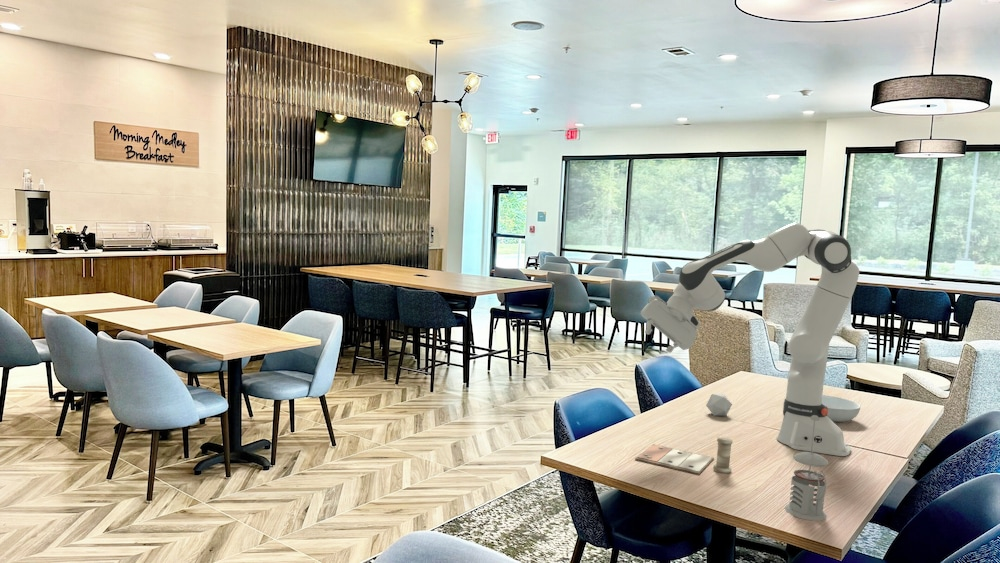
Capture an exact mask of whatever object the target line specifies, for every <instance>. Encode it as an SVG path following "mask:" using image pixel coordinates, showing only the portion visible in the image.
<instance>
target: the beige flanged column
mask: <svg viewBox="0 0 1000 563" xmlns="http://www.w3.org/2000/svg"><path fill="white" fill-rule="evenodd" d="M716 441H717V451H716V463H714V464H713V469H714V470H713V469H712V470H713V471H715V472H716V473H719V474H724V475H725V474H726V475H727V474H731V473H732V466H730V462H731V460H730V459H731V451H732V445H733V439H732V438H729V437H725V436H719V437H717V438H716Z"/></svg>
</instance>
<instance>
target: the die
mask: <svg viewBox="0 0 1000 563" xmlns="http://www.w3.org/2000/svg"><path fill="white" fill-rule="evenodd" d="M732 405H733V403H732V402H731V401H730V399H728V397H727V396H726V395H725V394H724V393H711V395H710V397H709V399H708V401H707V402H706V404H705V406H706V407H707V409H708V411H709V412H710V413H711V414H712V415H713V416H714V417H715V416H716V417H718V416H719V417H720V416H721V417H723V416H724V417H727V415H728V413H729V411H730V409H731V407H732Z"/></svg>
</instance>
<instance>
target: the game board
mask: <svg viewBox="0 0 1000 563" xmlns="http://www.w3.org/2000/svg"><path fill="white" fill-rule="evenodd" d="M634 459H635V461H638V460H639V462H642V461H643V462H642V463H646V462H647V463H646V464H651V465H655V466H659V467H663V466H664V468H667V467H668V469H673V470H675V471H676V470H677V471H680V472H681V471H682V472H684V471H685V473H688V474H694V475H697V476H700V475H701V473H702V472H704V470H706V468H707V467H708V466H709V465H710V464H711V463H712V462H713V461H714V459H715V457H713V456H710V455H709V456H708V455H704V454H700V453H695V452H690V451H686V450H683V449H682V450H681V449H677V448H673V447H667V446H665V445H664V446H663V445H659V444H652V445H650V446H649V447H648V448H646V449H645V450H644V451H643V452H642V453H639V455H638V456H637V457H635V458H634Z"/></svg>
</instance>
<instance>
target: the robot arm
mask: <svg viewBox="0 0 1000 563" xmlns="http://www.w3.org/2000/svg"><path fill="white" fill-rule="evenodd" d="M803 256H804V257H806V259H808V260H810V261H811V262H813V263H815V264H816V265H818V266H820V267H821V274H820V278H819V280H818V281H817V284H816V285H815V288H814V289H813V292H812V295H811V296H810V298H809V301H808V303H807V305H806V307H805V310H804V311H803V313H802V315H801V317H800V319H799V321H798V323H797V325H796V327H795V329H794V331H793V333H792V335H791V337H790V339H789V342H788V350H789V354H790V356H791V359H790V366H789V369H788V375H787V382H786V383H787V384H786V395H785V398H784V401H783V406H782V415H783V416H782V421H781V426H780V429H779V432H778V435H777V437H776V440H777V441H778V442H780V443H781V444H784V445H787V446H789V447H790V448H791V449H794V450H799V451H803V452H811V447H812V437H813V427H814V420H811V416H812V415H816V416H818V417H819V421H815V428H814V438H813V448H812V452H813V453H816V454H825V455H829V456H830V455H832V456H837V457H838V456H839V457H845V456H846V457H847V456H848V455H850V454H851V450H852V449H851V446H850V445H849V444H847V443H846V442H845V438H844V433H843V431H842V429H841V428H840V427H839V426H838V425H837V424H836V422H833V421H832V420H830V419H829V418H828V417H827V414H828V407H827V406H824V405H823V404H822V395H824V382H825V375H826V370H827V369H826V368H827V363H828V355H829V351H830V350H829V348H830V343H831V341H832V338H833V336H834V334H835V332H836V330H837V328H838V326H839V325H840V322H842V319H843V316H844V315H845V313H846V310H847V308H848V306H849V304H850V302H851V299H852V298H853V295H854V292H855V289H856V287H857V284H858V280H859V277H860V269H859V267H858V265H857V264H856V263H855V262H853V261H852V249H851V246H850V242H848V240H847V239H846V238H845V237H843V236H842V235H839V234H838V233H835V232H833V231H829V230H824V229H811V230H810V229H808V228H807V227H806V226H804V225H803V224H801V223H799V222H793V223H789V224H787V225H785V226H782V227H780V228H778V229H776V230H774V231H773V232H771V233H769V234H767V235H766V236H765V237H762V238H760V239H757V240H750V239H743V240H741V241H738V242H736V243H735V242H734V243H733V244H730V245H727V246H725V247H724V248H722V249H720V250H717V251H715V252H713V253H710V254H708V255H707V256H704V257H701V258H698V259H696V260H693V261H689V262H687V263H686V264H684V265H683V266H682V267H681V269H680V272H679V274H678V275H679V277H678V281H679V283H678V284H677V285H676V286H675V289H674V291H673V293H672V295H671V296H670V297H669V298H668V300H667V301H664V300H663V299H662V298H661V297H660V295H656V294H655V295H654V294H652V295H650V297H649V299H648V300H647V304H646V305H645V306H644V307H643V308H642V310H641V311H640V315H641V317H643V319H644V320H646V323H645V324H646V325H645V326H646V327H645V330H644V333H645V334H646V335H651V334H652V331H653V329H652V326H653V327H655V329H657V330H658V331H660V333H662V334H663V335H664V336H665V337H666V338H668V339H669V340H670V341H671V342H673V345H672V344H670V345H668V346H667V348H666V349H665V350H666V351H667V352H668V353H669V354H670V353H672V352H673V351H674V349H676V348H680V349H681V350H682V351H685V350H688V349H691V348H692V346H693V344H694V343H695V340H696V338H697V335H698V331H697V330H698V329H699V328H701V323H700V321H699V320H698V319H697V317H696V316H695V314H694V312H693V310H694V309H696V310H698V311H704V312H713V311H716V310H718V309H719V308H720V307H721V306H722V305H723V304H724V302H725V299H726V292H725V291H724V289H723V288H722V286H721V285H720V283H719V282H718V281H717V279H716V278H715V276H714V275H713V272H714V271H716V270H718V269H720V268H723V267H725V266H727V265H729V264H731V263H734V262H738V261H740V262H744V263H746V264H748V265H750V266H752V268H755V270H758V271H762V272H765V273H766V272H768V273H769V272H771V273H772V272H775V271H777V270H779V269H781V268H783V267H785V266H786V265H787V264H789V263H790V262H792V261H793V260H795V259H797V258H799V257H803Z"/></svg>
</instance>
